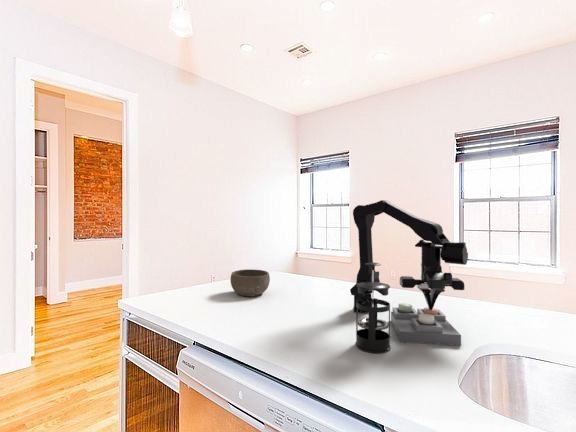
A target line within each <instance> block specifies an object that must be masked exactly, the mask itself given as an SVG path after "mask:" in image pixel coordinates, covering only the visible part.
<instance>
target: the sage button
mask: <svg viewBox="0 0 576 432" xmlns="http://www.w3.org/2000/svg"><path fill="white" fill-rule="evenodd" d="M397 308H398V310H399V311H402V312H412V308H413V305H412V304H411V303H407V302H402V303H401V302H400V303H398V307H397Z"/></svg>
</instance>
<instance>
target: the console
mask: <svg viewBox="0 0 576 432" xmlns="http://www.w3.org/2000/svg"><path fill="white" fill-rule="evenodd" d="M419 314H424V308H417V309H415V307H412V312H402V311H399V310H398V307H392V311H390V322H391V323H392V325H393V326H392V327H393V328H394V330H395V333H396V335H397V336H398V339H399V342H400V343H411V344H412V343H415V344H426V345H427V344H429V345H441V344H443V345H444V346H456V345H460V347H461V346H462V335H461V333H460V332H459V331H458V330H457V329H456V328H455V327H454V326H453V325H452V324H451V322H449V321H448V320H447V319H446V318H447V317H446V315H445V314H444V313H443V312H442V311H441V310H440V309H438V315H433V316H434V324H423V323H420V322H419ZM430 315H432V314H430ZM443 345H442V346H443Z"/></svg>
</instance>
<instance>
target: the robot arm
mask: <svg viewBox="0 0 576 432" xmlns="http://www.w3.org/2000/svg"><path fill="white" fill-rule="evenodd" d="M382 214H386V215H387V216H389V217H391V218H393V219H395V220H397V221H398V222H399V223H401V224H403V225H405V226H407V227H409V228H410V229H411V230H412V231H413V232H414V234H415V235H417V236H418V237H420V238H421V239H420V240H418V242H417V243H416V244H415V245H414V247H415V248H416V247H417V248H421V263H420V267H421V271H420V272H421V275H420V279H415V278H414V277H413V276H408V275H407V276H405V275H402V276H400V278H399V285H400V287H401V288H403V289H404V288H405V289H413V288H415V287H416V286H417V287H416V288H417V289H418V290H419V291H421V292H422V294H423V295H424V298H425V303H426V305H427V307H429V309H430V310H432V309H433V308H435V307H434V306H435V303H436V302H437V300H438V297H439V295H440V294H441V293H444V292H446V290H445V289H446V287H450V288H452V290H453V291H465V283H464V281H463V280H462V279H460V278H457V277H453V274H452V273H451V272H443V270H442V268H443V267H442V265H441V261H444V263H445V264H452V265H462V266H463V265H467V263H468V258H469V253H468V252H469V251H468V249H467V246H466V245H467V243H466V242H461V241H459V242H456V241H455V242H452V241H450V240H449V239H448V237H447V236H446V235H445V234H444V230H443V227H442V225H441V224H440V223H437V222H434V221H432V220H428V219H425V218H424V219H423V218H420V217H418V216H415V215H414V214H412V213H411V212H408V211H406V209H405V210H404V209H403V208H401V207H399V206H397V205H396V204H393V203H392V202H391V201H389V200H387V199H386V200H379V201H377V202H373V203H370V204H369V203H368V204H366V205H363V204H362V205H357V206H355V207H354V208H353V210H352V216H353V221H354V224H355V226H356V227H357V230H358V231H357V232H358V250H359V252H358V253H359V270H358V272H357V275H356V281H355V284H354V285H353V286H352V287H351V288H349V289H350V290H349V291H350V294H351V296H353V312H354V313H356V301H358V300H360V299H371V298H372V290H368V291H366V292H364V293H362V294H359V293H358V287H357V286H356V284H357V283H361V282H372V270H371V266H370V265H365V264H366V263H371V262H373V263H374V260H373V258H374V257H373V238H372V237H373V236H372V229H373V226H374V223H375V217H376V216H379V215H382ZM374 282H378V283H381V281H380V271H379V270H378V271H376V269H375V270H374ZM360 305H363V306H367V307H371V303H365V304H360ZM358 313H364V314H369V312H367V311H362V310H360V309H358Z"/></svg>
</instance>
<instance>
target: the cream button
mask: <svg viewBox="0 0 576 432" xmlns="http://www.w3.org/2000/svg"><path fill="white" fill-rule="evenodd" d="M419 322H420V323H423V324H434V316H433V315H430V314H419Z"/></svg>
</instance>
